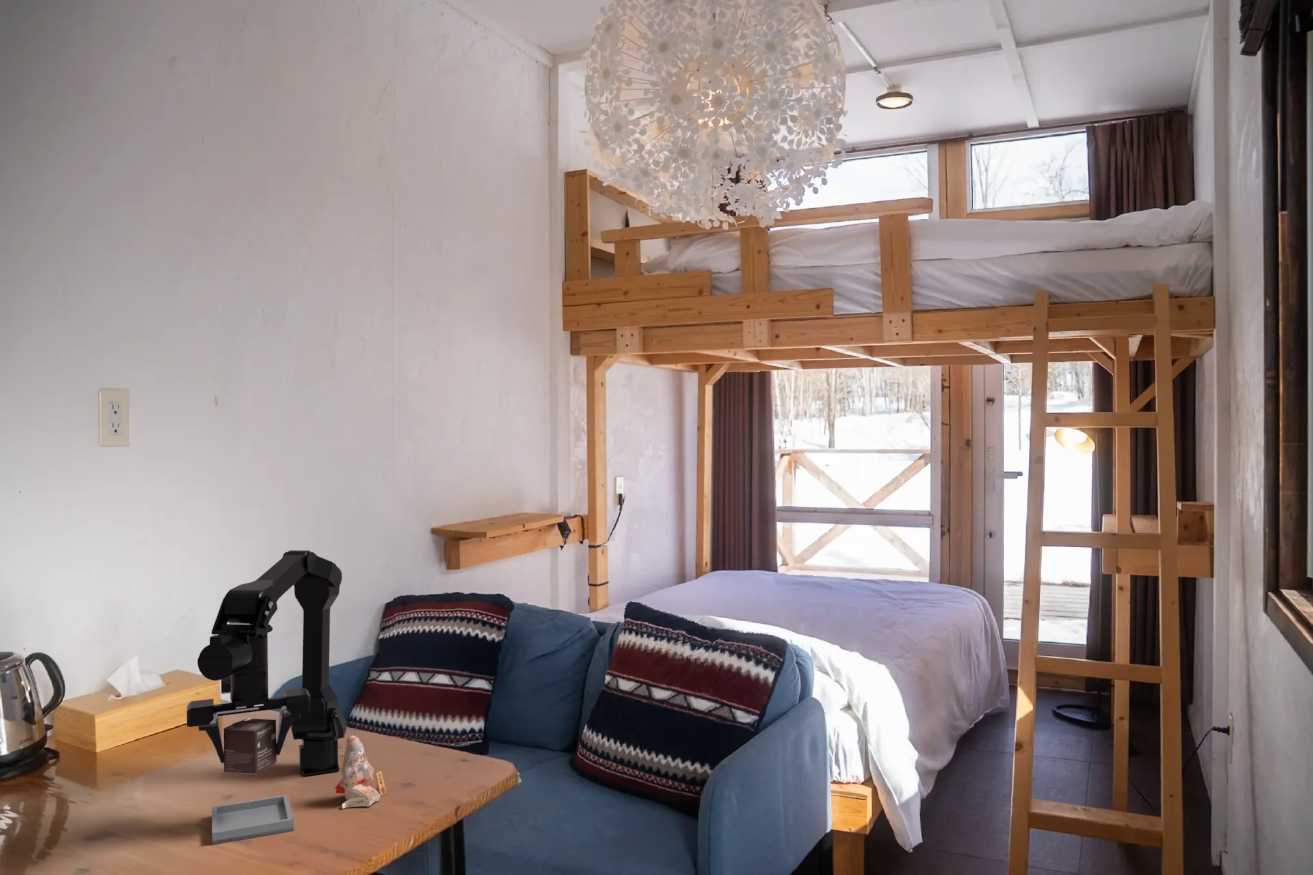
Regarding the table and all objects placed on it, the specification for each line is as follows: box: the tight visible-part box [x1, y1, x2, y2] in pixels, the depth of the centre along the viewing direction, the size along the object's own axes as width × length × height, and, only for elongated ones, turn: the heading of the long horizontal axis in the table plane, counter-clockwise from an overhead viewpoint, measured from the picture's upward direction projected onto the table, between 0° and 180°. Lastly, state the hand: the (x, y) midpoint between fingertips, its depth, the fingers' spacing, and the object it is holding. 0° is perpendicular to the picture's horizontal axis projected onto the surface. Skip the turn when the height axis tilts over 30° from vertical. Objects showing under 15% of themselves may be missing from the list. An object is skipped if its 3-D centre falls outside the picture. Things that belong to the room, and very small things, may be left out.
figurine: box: [334, 735, 387, 809], centre depth 167 cm, size 9×7×12 cm
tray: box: [211, 793, 295, 846], centre depth 158 cm, size 12×12×2 cm
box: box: [223, 717, 278, 775], centre depth 158 cm, size 6×6×7 cm
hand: (250, 758), depth 158 cm, fingers closed on box, 8 cm apart
